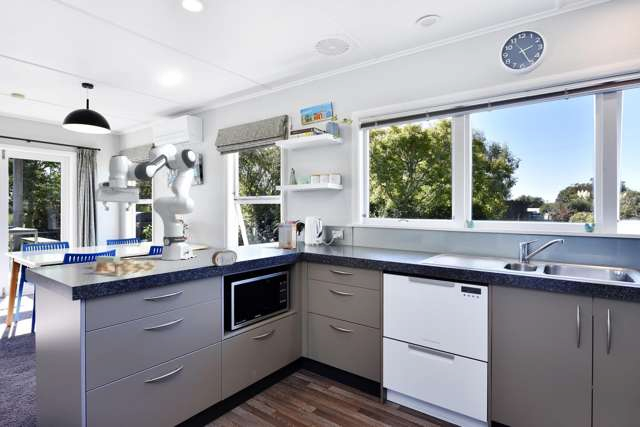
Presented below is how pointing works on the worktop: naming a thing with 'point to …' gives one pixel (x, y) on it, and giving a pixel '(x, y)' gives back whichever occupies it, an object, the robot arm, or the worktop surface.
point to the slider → (107, 259)
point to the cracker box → (287, 235)
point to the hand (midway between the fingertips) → (117, 210)
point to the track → (122, 267)
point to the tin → (224, 258)
